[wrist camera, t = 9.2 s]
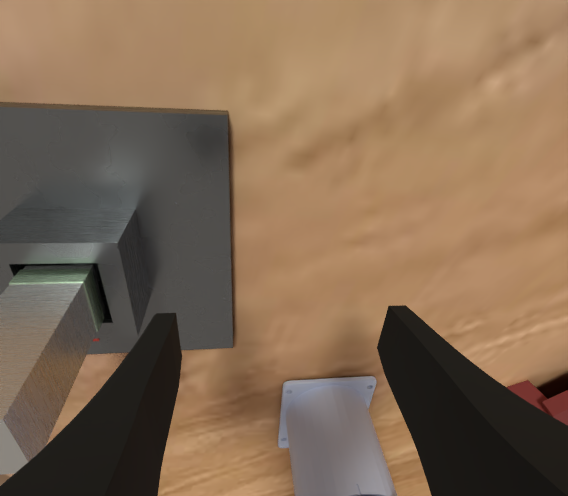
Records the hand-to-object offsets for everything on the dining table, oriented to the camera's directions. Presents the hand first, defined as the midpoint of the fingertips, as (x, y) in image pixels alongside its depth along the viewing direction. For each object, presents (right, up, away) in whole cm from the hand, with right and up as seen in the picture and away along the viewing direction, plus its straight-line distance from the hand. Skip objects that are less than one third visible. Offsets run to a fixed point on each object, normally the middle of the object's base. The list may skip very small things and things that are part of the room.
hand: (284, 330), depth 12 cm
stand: (-11, +3, +9) cm, 15 cm away
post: (-11, +1, +6) cm, 12 cm away
